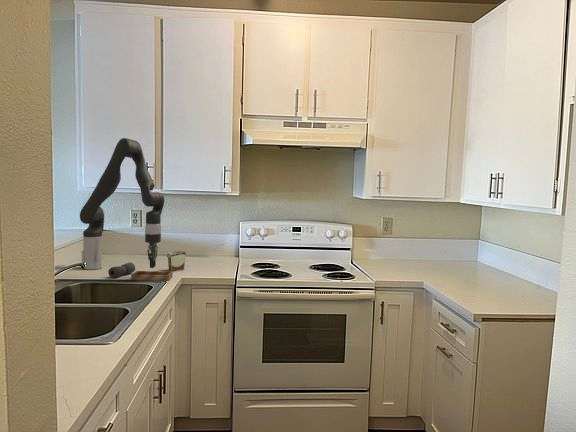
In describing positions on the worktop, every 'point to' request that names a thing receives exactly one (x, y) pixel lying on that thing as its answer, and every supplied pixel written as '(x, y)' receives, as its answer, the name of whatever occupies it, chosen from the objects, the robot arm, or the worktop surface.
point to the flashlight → (122, 269)
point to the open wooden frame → (152, 275)
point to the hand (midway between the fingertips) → (152, 267)
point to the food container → (176, 260)
